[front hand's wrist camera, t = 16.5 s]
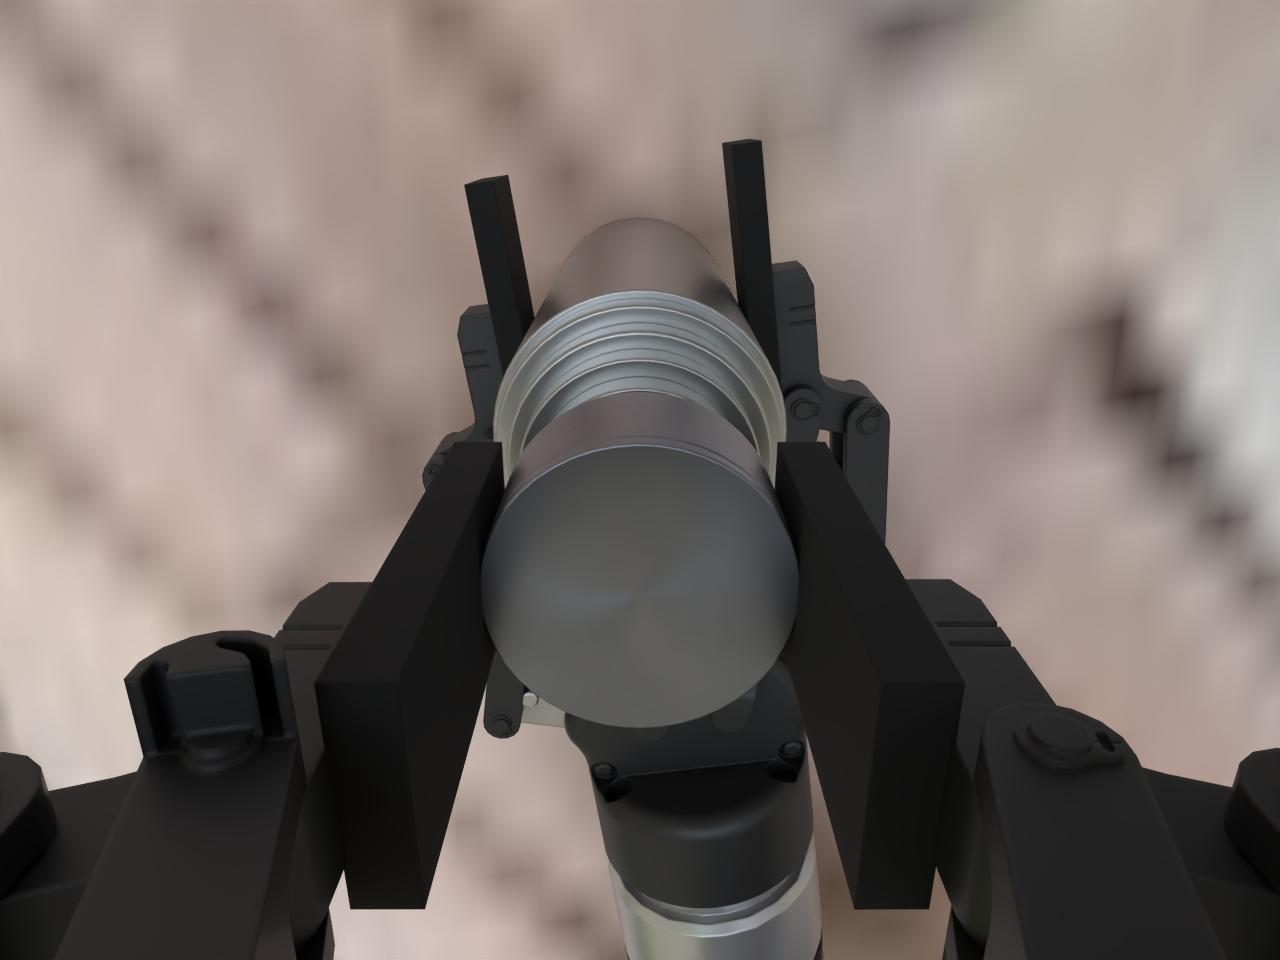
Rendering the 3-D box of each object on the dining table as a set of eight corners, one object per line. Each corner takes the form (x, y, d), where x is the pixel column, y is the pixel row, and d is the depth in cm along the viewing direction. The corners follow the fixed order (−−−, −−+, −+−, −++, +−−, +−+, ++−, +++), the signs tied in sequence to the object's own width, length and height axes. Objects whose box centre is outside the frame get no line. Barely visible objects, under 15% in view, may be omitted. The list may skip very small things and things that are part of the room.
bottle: (688, 411, 33) (753, 797, 14) (532, 355, 32) (379, 685, 13) (752, 254, 31) (929, 460, 12) (587, 191, 30) (496, 304, 11)
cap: (782, 389, 14) (810, 441, 11) (770, 638, 15) (793, 727, 13) (493, 392, 14) (464, 445, 11) (512, 641, 15) (490, 731, 13)
